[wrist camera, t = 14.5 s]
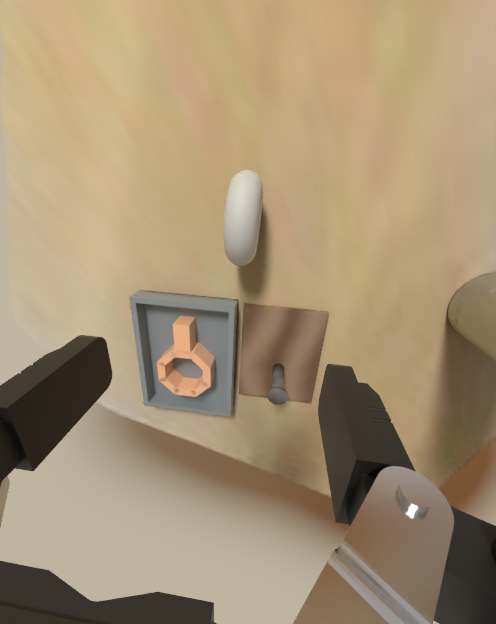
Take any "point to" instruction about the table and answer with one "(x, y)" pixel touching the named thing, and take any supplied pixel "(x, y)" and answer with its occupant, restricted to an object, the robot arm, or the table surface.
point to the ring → (186, 349)
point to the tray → (159, 337)
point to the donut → (243, 217)
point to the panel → (281, 352)
